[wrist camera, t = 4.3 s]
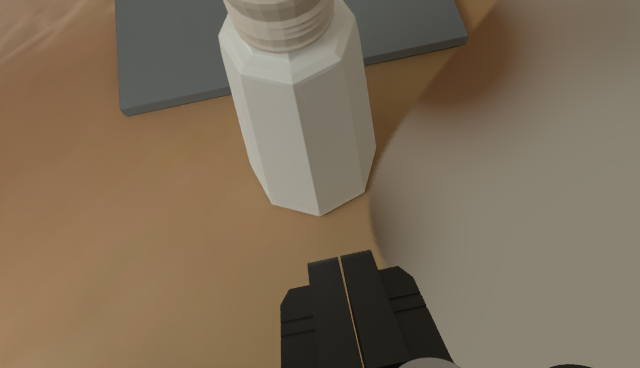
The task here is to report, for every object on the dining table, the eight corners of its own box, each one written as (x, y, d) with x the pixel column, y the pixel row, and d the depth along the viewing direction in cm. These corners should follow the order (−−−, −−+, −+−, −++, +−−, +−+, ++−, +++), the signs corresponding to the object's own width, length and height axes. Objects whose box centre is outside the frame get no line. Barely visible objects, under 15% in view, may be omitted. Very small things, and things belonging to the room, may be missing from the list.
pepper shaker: (386, 209, 19) (420, 27, 9) (254, 226, 19) (140, 66, 9) (366, 95, 21) (376, -159, 11) (247, 111, 21) (147, -124, 11)
